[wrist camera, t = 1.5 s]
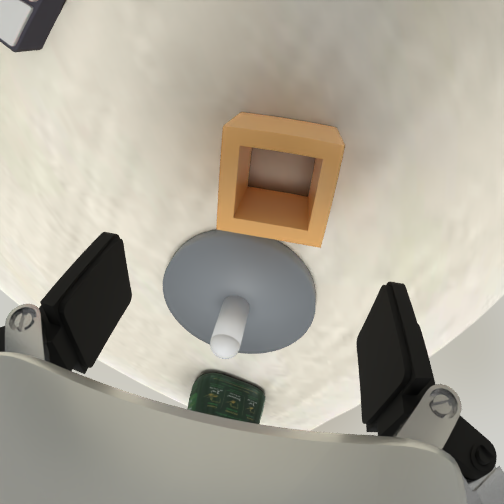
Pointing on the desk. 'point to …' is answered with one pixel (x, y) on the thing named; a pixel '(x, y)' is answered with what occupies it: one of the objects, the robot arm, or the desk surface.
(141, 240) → the desk surface
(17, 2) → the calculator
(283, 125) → the collar
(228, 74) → the desk surface
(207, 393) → the coffee jar
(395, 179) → the desk surface
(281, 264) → the post stand
